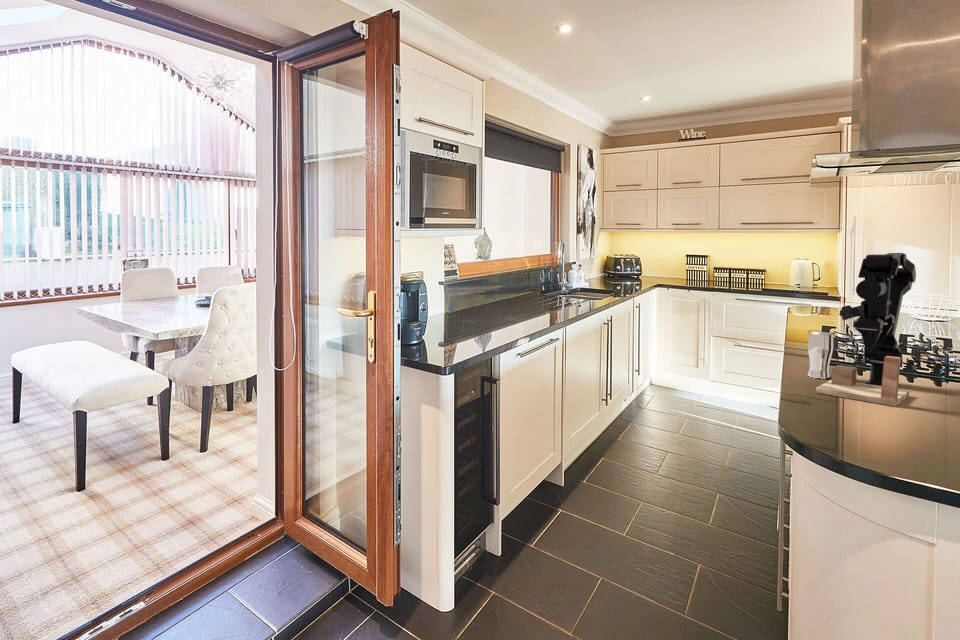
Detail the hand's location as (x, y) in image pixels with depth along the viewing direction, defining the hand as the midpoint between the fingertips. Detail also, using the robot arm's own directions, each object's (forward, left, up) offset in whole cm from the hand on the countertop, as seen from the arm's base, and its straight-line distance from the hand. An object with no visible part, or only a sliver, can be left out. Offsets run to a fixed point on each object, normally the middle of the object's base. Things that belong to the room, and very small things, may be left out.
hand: (872, 349), depth 149 cm
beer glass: (-10, -16, -13) cm, 23 cm away
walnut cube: (+1, -6, -11) cm, 13 cm away
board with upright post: (+4, 0, -13) cm, 14 cm away
